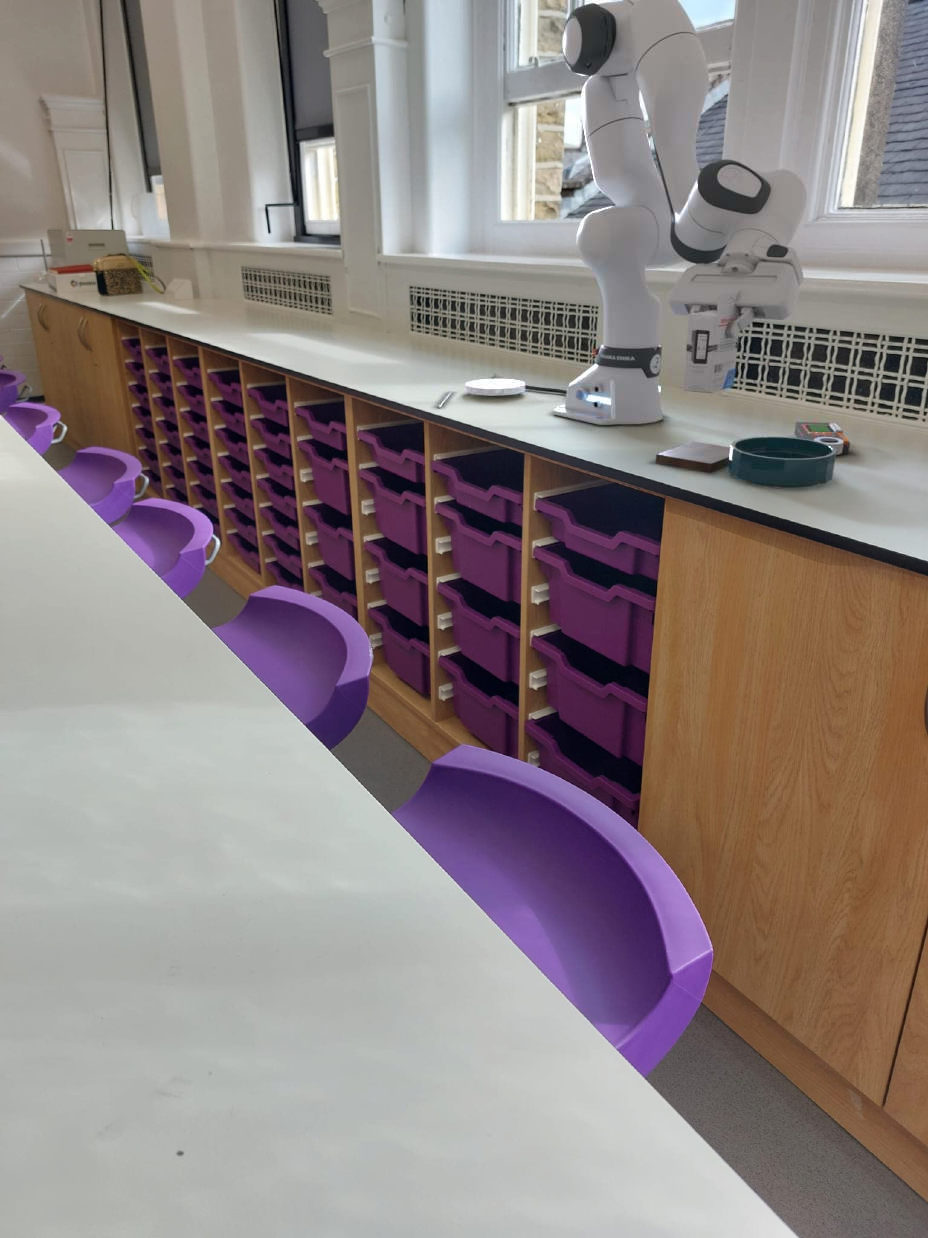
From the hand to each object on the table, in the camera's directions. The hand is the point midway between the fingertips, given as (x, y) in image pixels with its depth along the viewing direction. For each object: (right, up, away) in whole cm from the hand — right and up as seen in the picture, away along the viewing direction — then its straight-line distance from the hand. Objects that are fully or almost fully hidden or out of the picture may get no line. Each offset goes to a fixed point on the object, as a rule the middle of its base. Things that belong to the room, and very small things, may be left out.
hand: (711, 334), depth 136 cm
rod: (-43, +5, +63) cm, 77 cm away
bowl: (+10, -22, -1) cm, 24 cm away
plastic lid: (-31, +8, +69) cm, 76 cm away
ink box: (+1, -8, +4) cm, 9 cm away
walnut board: (+1, -18, +9) cm, 20 cm away
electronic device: (+24, -14, +16) cm, 32 cm away
